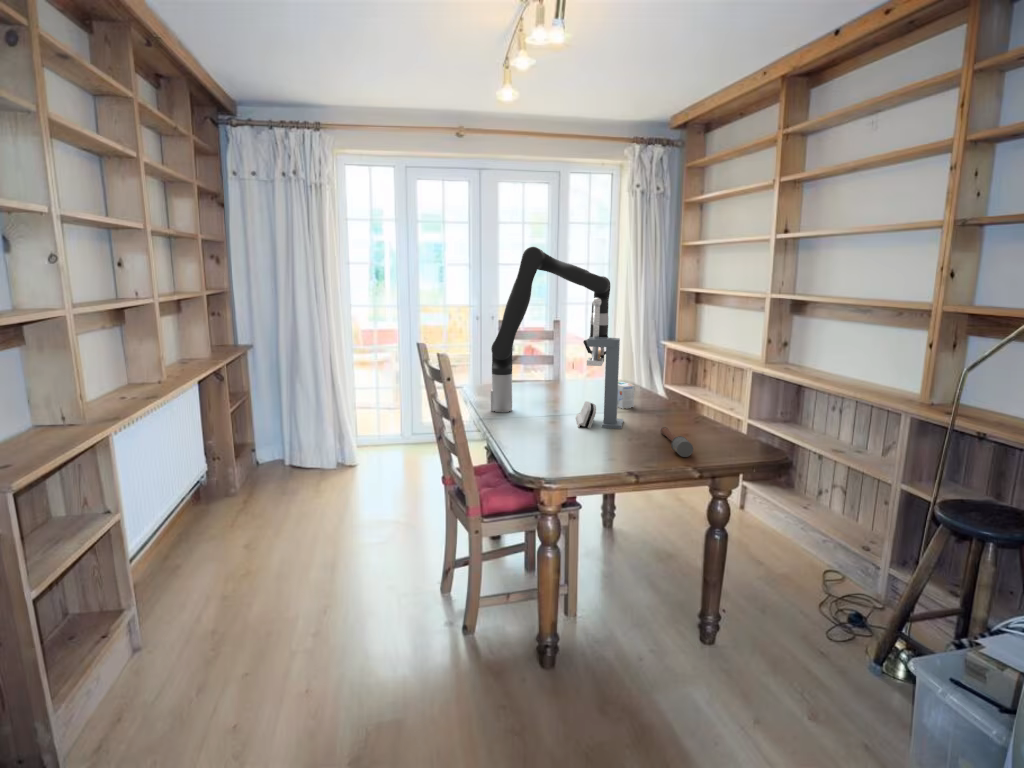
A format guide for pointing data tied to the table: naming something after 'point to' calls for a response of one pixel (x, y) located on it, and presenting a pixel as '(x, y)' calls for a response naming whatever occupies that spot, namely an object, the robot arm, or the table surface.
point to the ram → (596, 335)
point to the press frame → (610, 380)
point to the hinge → (586, 415)
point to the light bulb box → (625, 395)
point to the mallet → (678, 443)
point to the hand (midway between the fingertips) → (597, 363)
